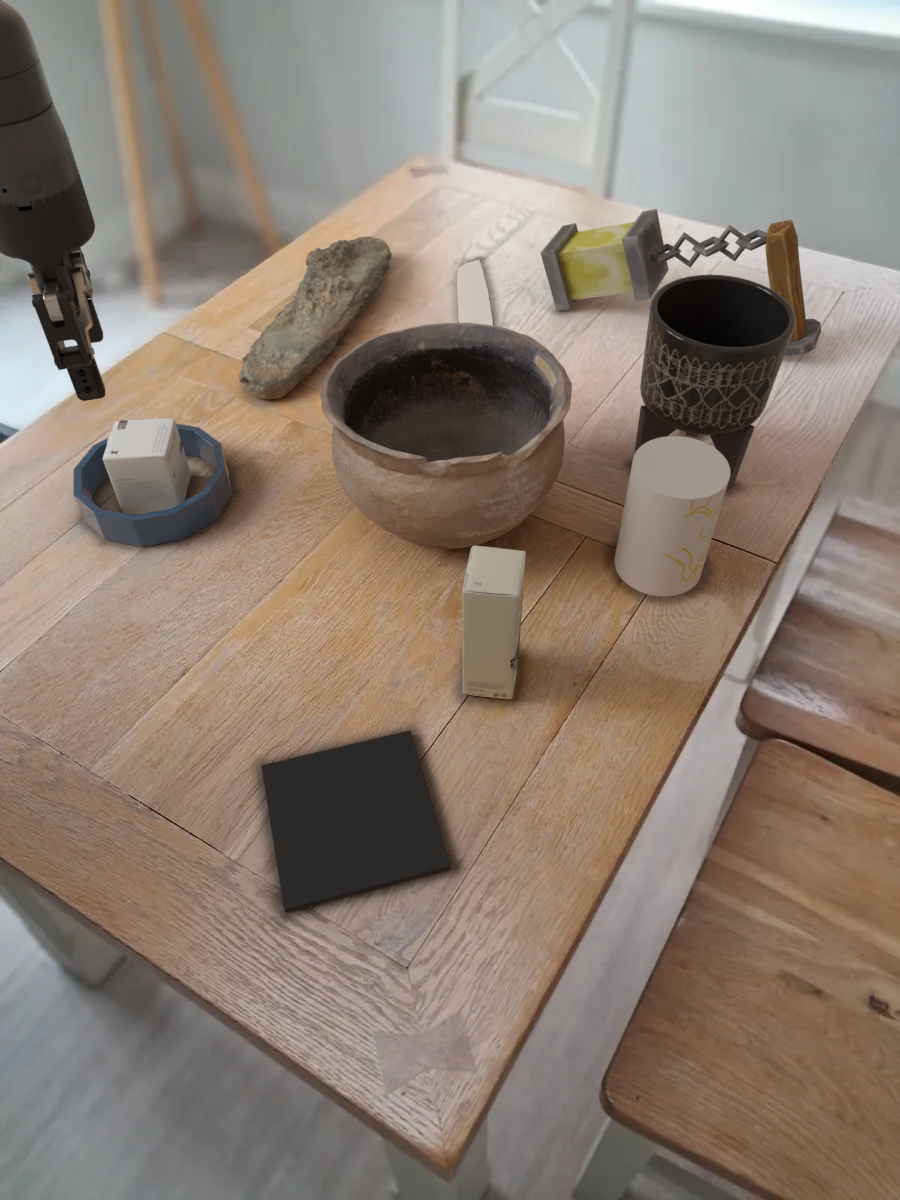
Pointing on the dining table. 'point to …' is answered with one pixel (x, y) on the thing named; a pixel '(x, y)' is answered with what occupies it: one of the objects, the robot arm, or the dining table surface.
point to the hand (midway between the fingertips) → (92, 368)
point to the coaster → (351, 820)
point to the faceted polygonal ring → (162, 522)
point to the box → (492, 621)
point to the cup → (670, 514)
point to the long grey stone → (315, 315)
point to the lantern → (666, 265)
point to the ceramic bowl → (447, 430)
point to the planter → (712, 360)
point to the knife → (473, 295)
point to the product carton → (147, 465)
